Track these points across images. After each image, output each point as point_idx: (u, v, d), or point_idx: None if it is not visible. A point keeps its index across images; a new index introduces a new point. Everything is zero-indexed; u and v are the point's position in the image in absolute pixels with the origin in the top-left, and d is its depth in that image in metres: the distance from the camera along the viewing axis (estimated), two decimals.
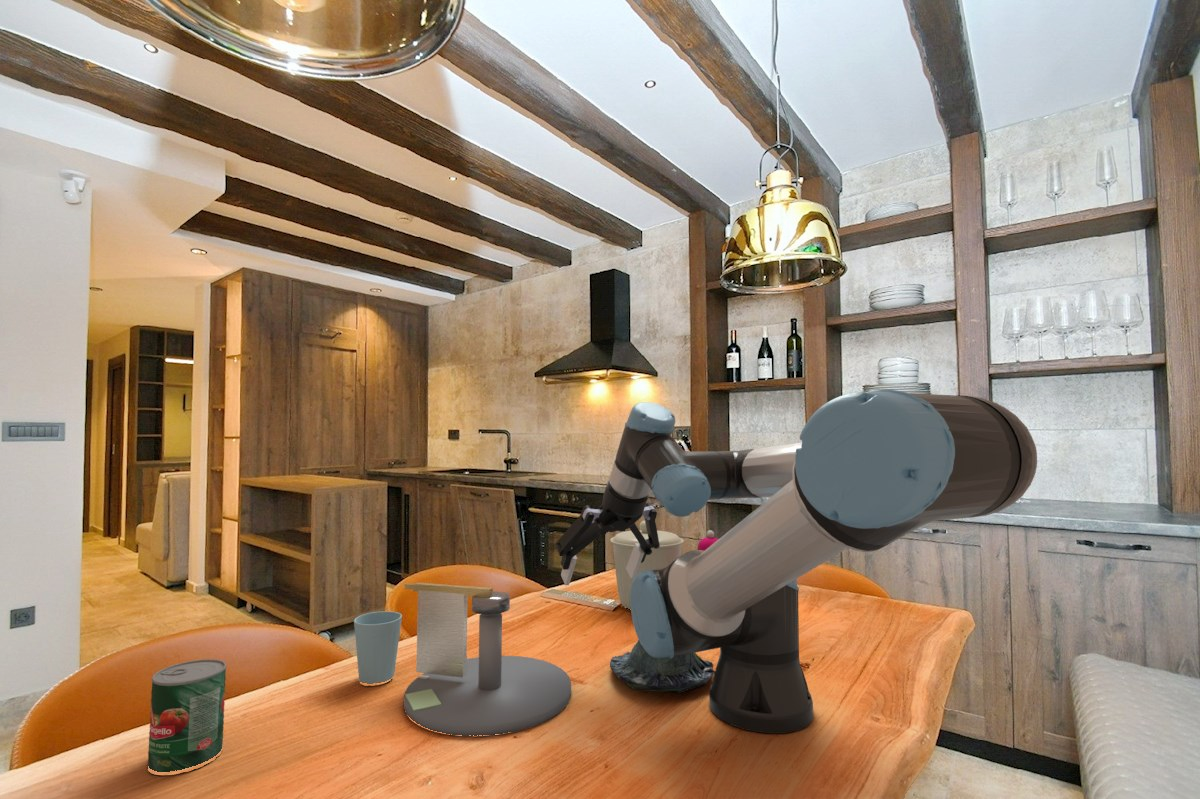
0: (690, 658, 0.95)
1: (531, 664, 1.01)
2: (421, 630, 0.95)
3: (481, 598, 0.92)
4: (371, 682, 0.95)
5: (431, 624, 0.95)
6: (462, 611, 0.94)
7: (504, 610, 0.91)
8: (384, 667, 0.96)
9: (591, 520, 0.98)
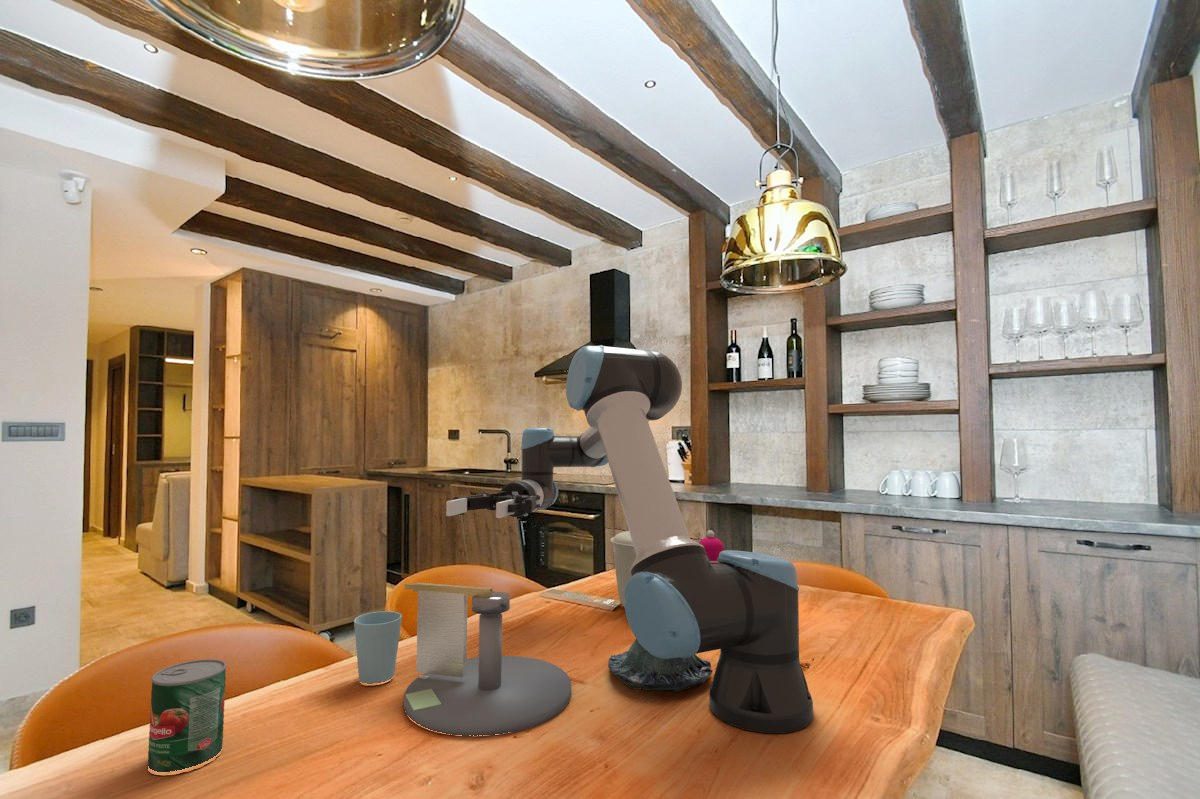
0: None
1: (531, 664, 1.01)
2: (421, 630, 0.95)
3: (481, 598, 0.92)
4: (371, 682, 0.95)
5: (431, 624, 0.95)
6: (462, 611, 0.94)
7: (504, 610, 0.91)
8: (384, 667, 0.96)
9: (483, 494, 1.22)
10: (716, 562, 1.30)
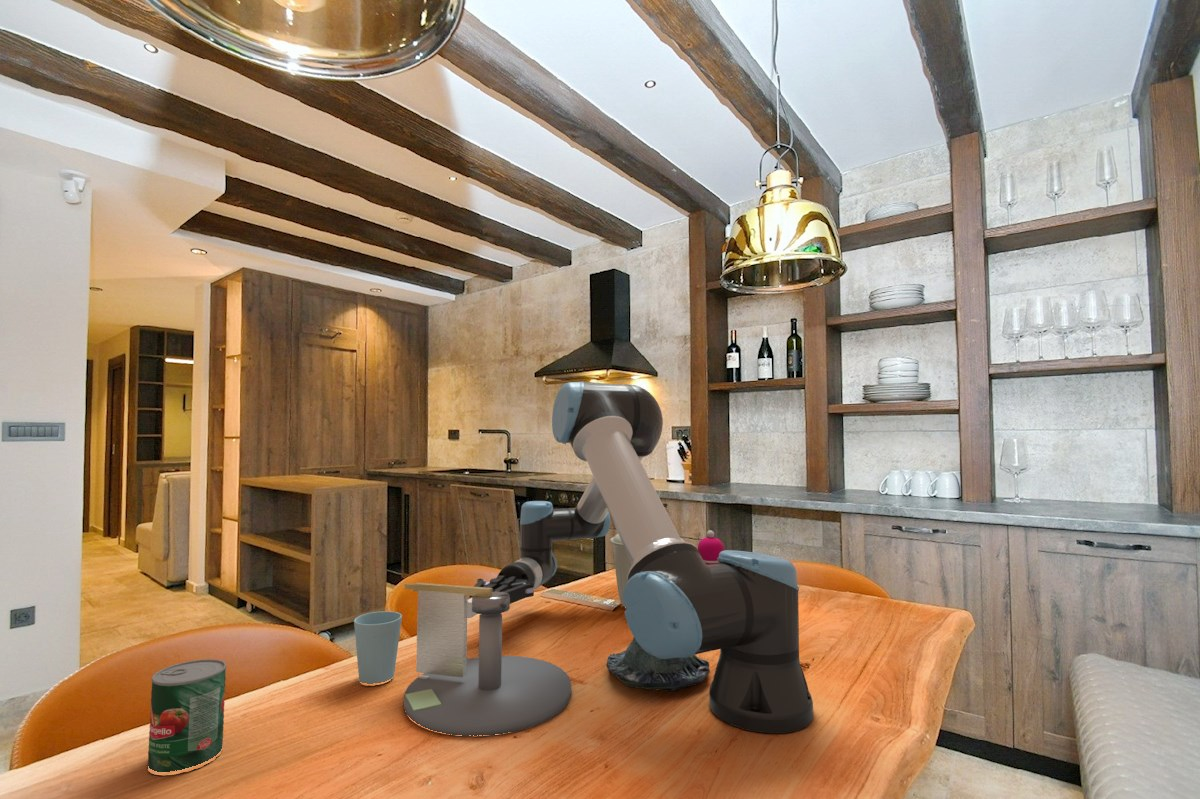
0: None
1: (531, 664, 1.01)
2: (421, 630, 0.95)
3: (481, 598, 0.92)
4: (371, 682, 0.95)
5: (431, 624, 0.95)
6: (462, 611, 0.94)
7: (504, 610, 0.91)
8: (384, 667, 0.96)
9: (482, 580, 1.20)
10: (716, 562, 1.30)
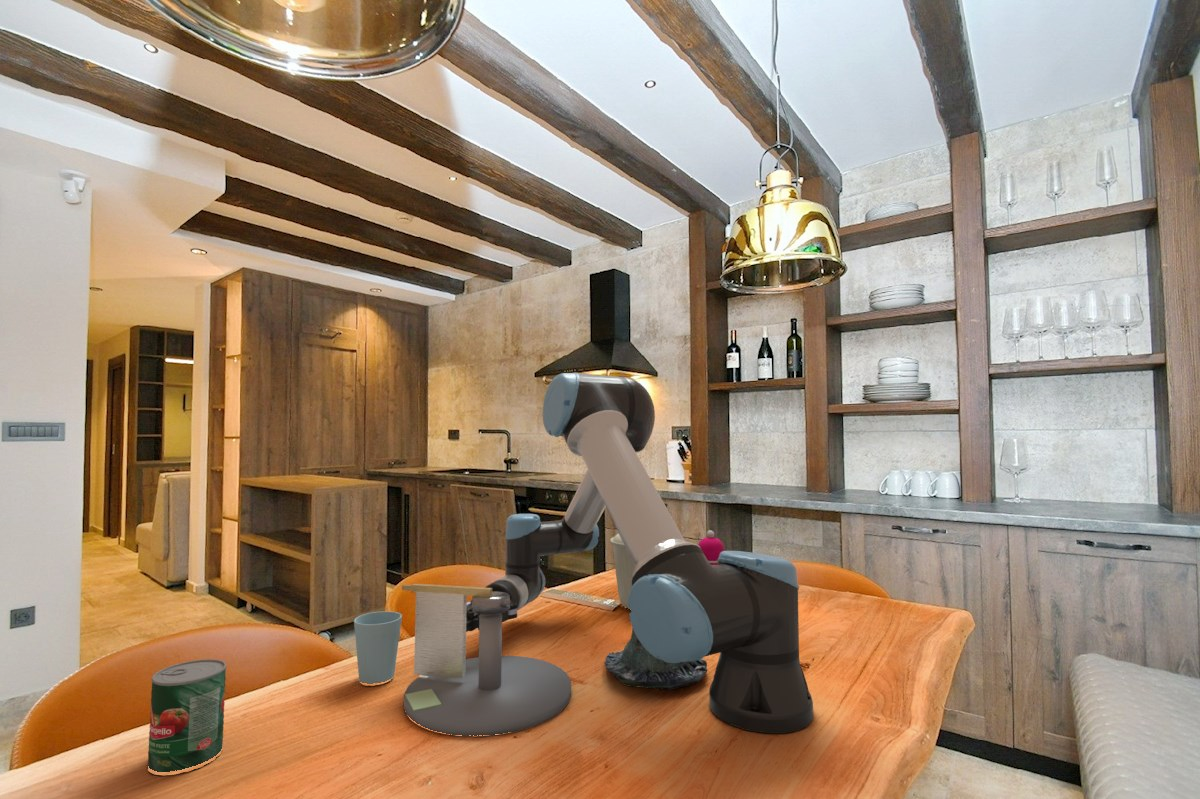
0: None
1: (531, 664, 1.01)
2: (420, 631, 0.95)
3: (481, 598, 0.92)
4: (371, 682, 0.95)
5: (429, 625, 0.94)
6: (461, 611, 0.93)
7: (505, 610, 0.91)
8: (384, 667, 0.96)
9: None
10: (716, 562, 1.30)
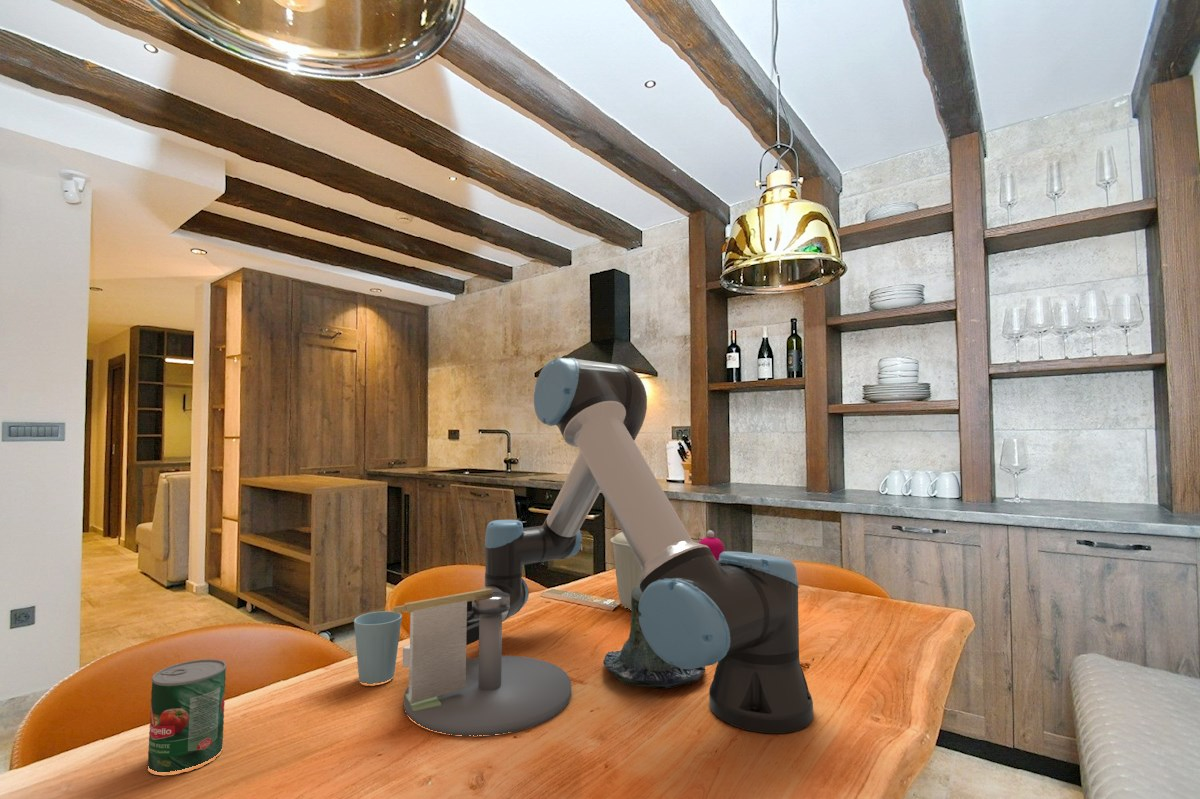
0: None
1: (531, 664, 1.01)
2: (418, 653, 0.85)
3: (490, 599, 0.91)
4: (371, 682, 0.95)
5: (430, 643, 0.86)
6: (465, 619, 0.89)
7: None
8: (384, 667, 0.96)
9: None
10: None
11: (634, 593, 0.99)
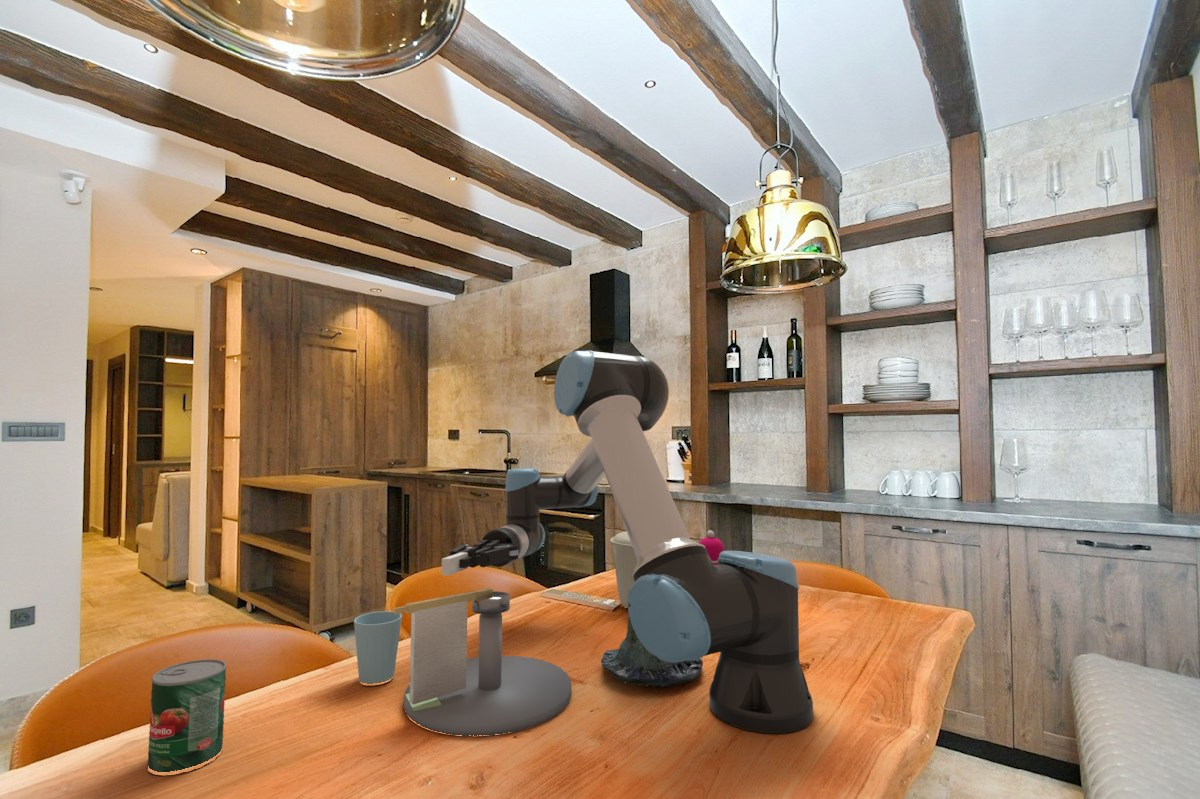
0: None
1: (531, 664, 1.01)
2: (419, 654, 0.84)
3: (491, 599, 0.91)
4: (371, 682, 0.95)
5: (431, 644, 0.85)
6: (465, 619, 0.89)
7: None
8: (384, 667, 0.96)
9: (464, 544, 1.14)
10: (716, 562, 1.30)
11: None
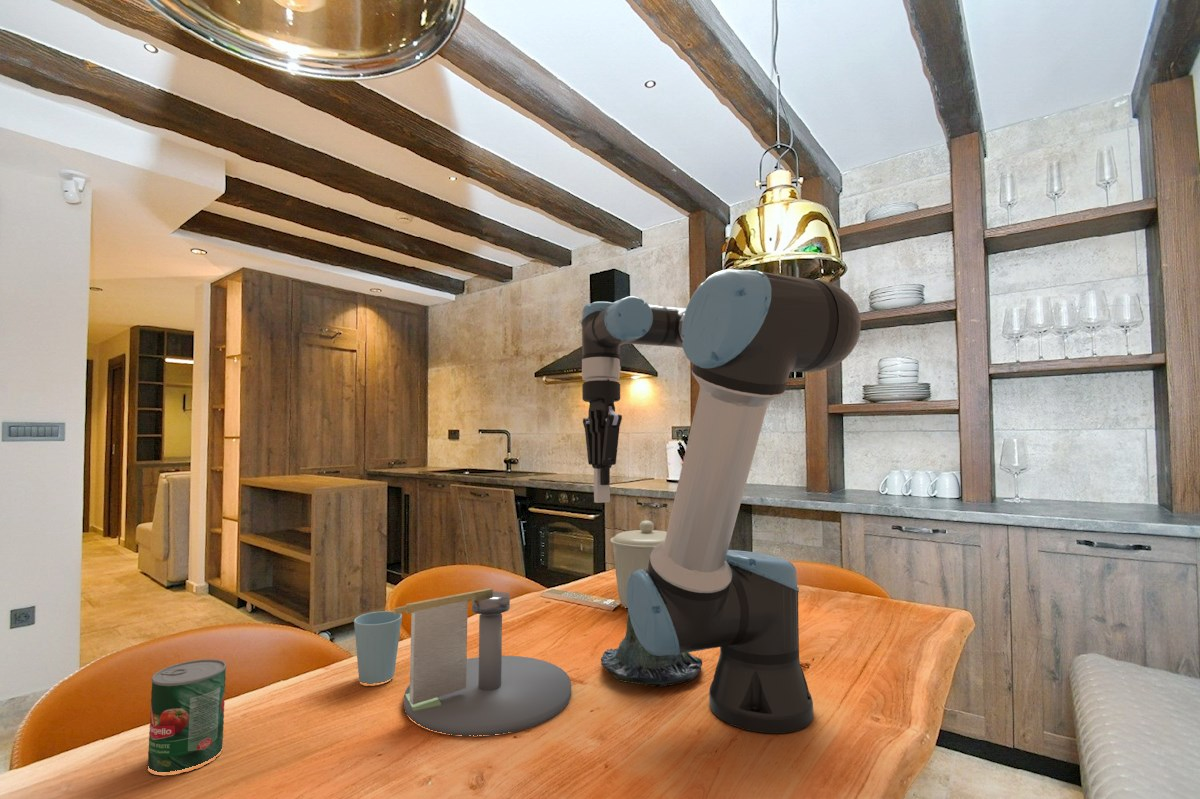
0: None
1: (531, 664, 1.01)
2: (419, 654, 0.84)
3: (491, 599, 0.91)
4: (371, 682, 0.95)
5: (431, 644, 0.85)
6: (465, 619, 0.89)
7: None
8: (384, 667, 0.96)
9: (585, 422, 1.17)
10: None
11: None
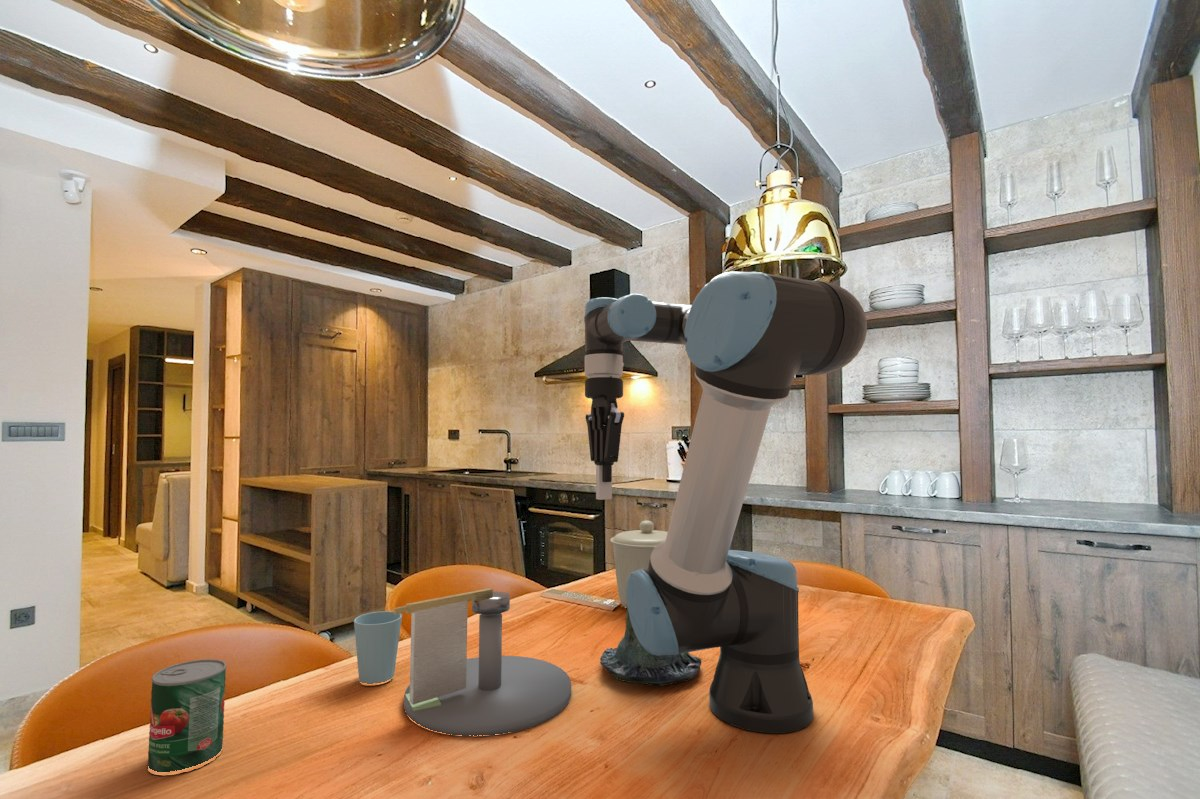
0: None
1: (531, 664, 1.01)
2: (419, 654, 0.84)
3: (491, 599, 0.91)
4: (371, 682, 0.95)
5: (431, 644, 0.85)
6: (465, 619, 0.89)
7: None
8: (384, 667, 0.96)
9: (588, 418, 1.17)
10: None
11: None
